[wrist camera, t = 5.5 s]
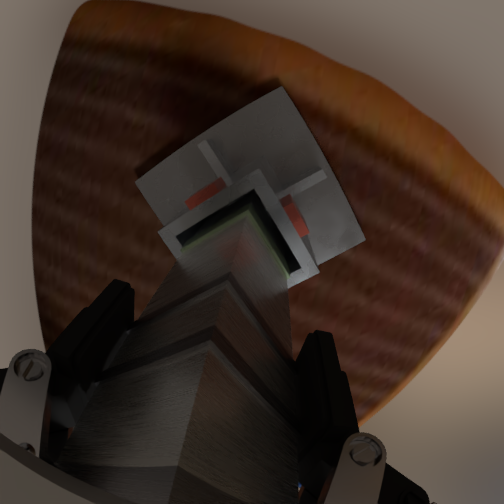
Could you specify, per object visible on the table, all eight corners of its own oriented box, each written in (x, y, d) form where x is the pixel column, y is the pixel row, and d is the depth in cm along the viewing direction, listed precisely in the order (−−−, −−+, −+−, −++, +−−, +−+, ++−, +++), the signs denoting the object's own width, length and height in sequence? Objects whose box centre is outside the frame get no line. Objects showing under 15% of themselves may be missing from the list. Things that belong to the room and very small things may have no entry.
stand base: (226, 305, 32) (208, 379, 21) (138, 180, 27) (73, 210, 17) (362, 236, 27) (405, 293, 17) (281, 87, 23) (288, 56, 13)
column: (234, 268, 22) (165, 549, 4) (202, 220, 20) (35, 486, 3) (286, 240, 21) (307, 556, 3) (254, 188, 19) (162, 521, 2)
